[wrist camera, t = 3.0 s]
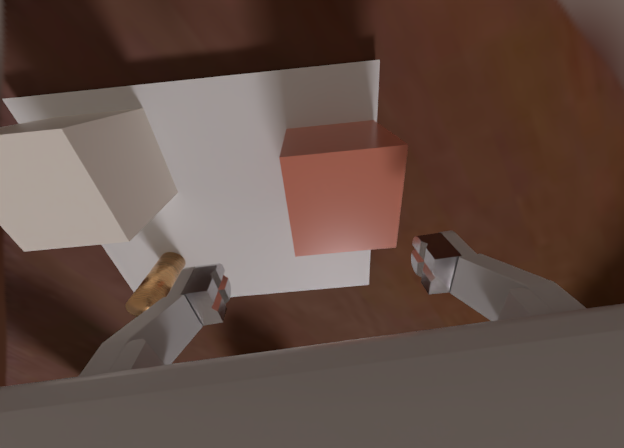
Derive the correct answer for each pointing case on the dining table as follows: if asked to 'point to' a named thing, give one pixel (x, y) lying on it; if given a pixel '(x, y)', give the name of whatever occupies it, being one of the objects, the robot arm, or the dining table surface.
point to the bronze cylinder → (156, 283)
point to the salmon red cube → (343, 186)
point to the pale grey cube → (81, 179)
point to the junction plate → (231, 169)
